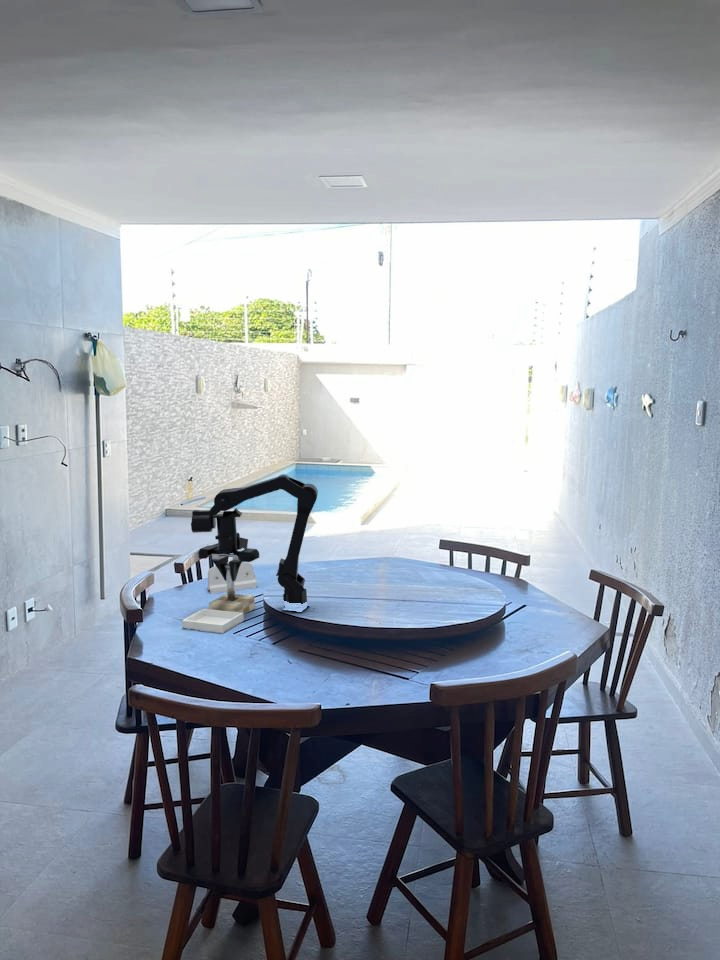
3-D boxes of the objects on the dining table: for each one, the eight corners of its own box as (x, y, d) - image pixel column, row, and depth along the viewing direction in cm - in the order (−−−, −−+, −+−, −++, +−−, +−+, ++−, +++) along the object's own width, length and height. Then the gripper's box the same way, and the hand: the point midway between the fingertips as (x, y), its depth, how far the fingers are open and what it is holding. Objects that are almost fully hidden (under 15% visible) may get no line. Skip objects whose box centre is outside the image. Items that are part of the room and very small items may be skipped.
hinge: (209, 593, 257) (206, 564, 258) (207, 594, 261) (204, 565, 263) (258, 587, 262) (254, 558, 264) (256, 588, 267) (252, 559, 268)
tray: (243, 621, 228) (243, 613, 228) (223, 633, 218) (222, 625, 218) (204, 616, 234) (203, 608, 233) (182, 628, 224) (181, 620, 224)
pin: (238, 597, 237) (236, 563, 236) (233, 600, 235) (230, 565, 233) (229, 596, 239) (227, 562, 237) (224, 599, 236) (221, 565, 234)
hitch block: (255, 608, 240) (254, 595, 239) (237, 618, 231) (236, 605, 230) (227, 605, 244) (227, 593, 243) (209, 615, 235) (208, 602, 234)
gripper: (266, 527, 237) (269, 575, 239) (216, 524, 244) (219, 571, 247) (247, 535, 227) (251, 586, 229) (195, 531, 234) (199, 581, 237)
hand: (230, 580), depth 236 cm, fingers closed on pin, 2 cm apart
